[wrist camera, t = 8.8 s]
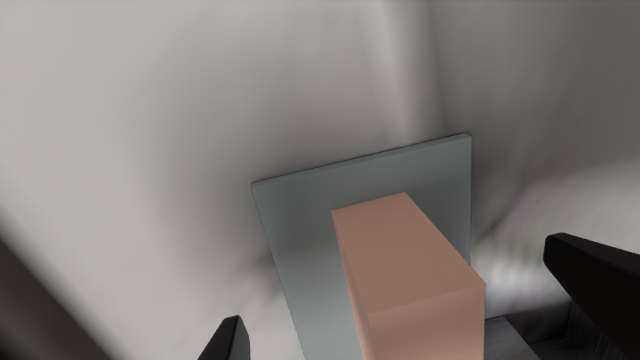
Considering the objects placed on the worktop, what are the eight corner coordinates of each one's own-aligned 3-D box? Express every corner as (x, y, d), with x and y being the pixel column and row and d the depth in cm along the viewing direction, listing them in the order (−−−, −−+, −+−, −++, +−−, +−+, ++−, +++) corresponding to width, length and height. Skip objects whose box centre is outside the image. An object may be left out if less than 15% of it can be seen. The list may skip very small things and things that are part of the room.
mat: (463, 382, 16) (468, 390, 15) (326, 420, 15) (327, 429, 15) (464, 133, 10) (471, 136, 10) (251, 183, 10) (250, 188, 10)
